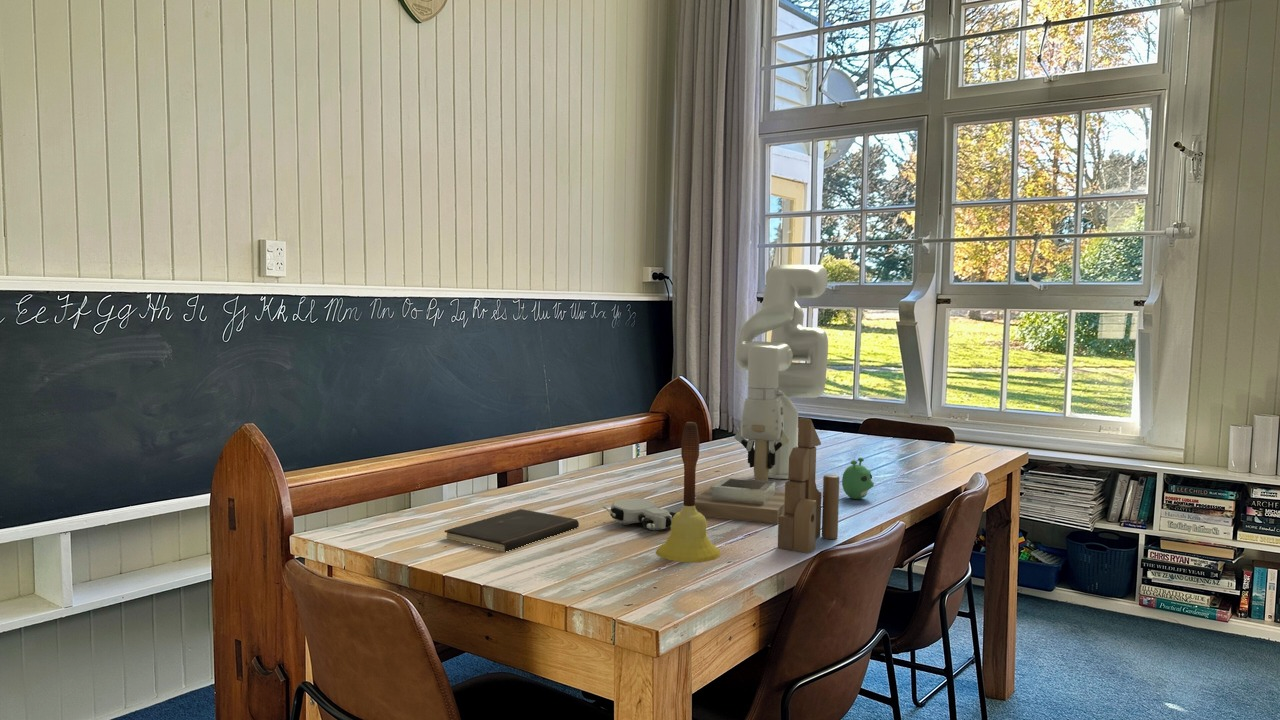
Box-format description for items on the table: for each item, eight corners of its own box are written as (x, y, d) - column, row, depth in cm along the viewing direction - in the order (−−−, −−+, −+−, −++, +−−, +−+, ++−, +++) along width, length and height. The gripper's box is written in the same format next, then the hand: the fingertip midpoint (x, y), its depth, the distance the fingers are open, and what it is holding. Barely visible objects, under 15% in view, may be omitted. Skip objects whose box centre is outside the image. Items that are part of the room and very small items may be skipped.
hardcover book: (444, 541, 175) (444, 530, 175) (520, 519, 194) (520, 508, 194) (505, 555, 166) (505, 543, 166) (578, 530, 185) (579, 519, 185)
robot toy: (689, 531, 188) (639, 513, 198) (690, 510, 187) (641, 494, 198) (648, 541, 179) (599, 522, 189) (650, 520, 178) (600, 502, 189)
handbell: (730, 559, 164) (733, 426, 162) (667, 564, 160) (670, 427, 159) (707, 542, 176) (709, 417, 174) (647, 546, 172) (649, 418, 171)
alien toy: (866, 503, 212) (867, 462, 212) (836, 499, 217) (837, 458, 216) (877, 498, 218) (879, 458, 217) (848, 494, 223) (849, 455, 222)
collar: (725, 489, 212) (725, 477, 211) (774, 494, 207) (775, 481, 207) (711, 499, 200) (711, 486, 200) (763, 504, 196) (763, 491, 196)
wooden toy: (809, 554, 168) (812, 424, 167) (777, 548, 172) (780, 421, 171) (840, 537, 181) (843, 416, 179) (809, 532, 185) (813, 413, 183)
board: (713, 497, 217) (713, 485, 217) (794, 504, 210) (795, 492, 210) (689, 514, 198) (689, 501, 198) (777, 523, 191) (777, 510, 191)
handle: (776, 483, 221) (778, 424, 220) (760, 487, 217) (761, 426, 215) (761, 479, 225) (763, 421, 223) (745, 483, 220) (746, 424, 219)
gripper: (799, 394, 219) (797, 467, 221) (733, 391, 225) (732, 461, 227) (793, 398, 212) (791, 473, 214) (726, 394, 218) (725, 467, 220)
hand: (761, 466), depth 220 cm, fingers closed on handle, 4 cm apart
